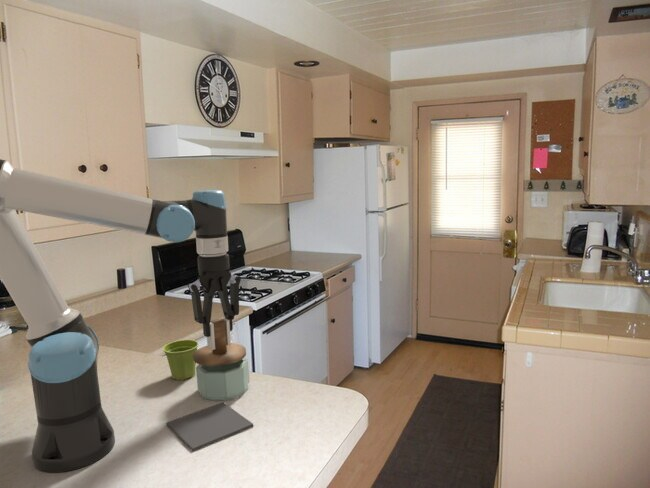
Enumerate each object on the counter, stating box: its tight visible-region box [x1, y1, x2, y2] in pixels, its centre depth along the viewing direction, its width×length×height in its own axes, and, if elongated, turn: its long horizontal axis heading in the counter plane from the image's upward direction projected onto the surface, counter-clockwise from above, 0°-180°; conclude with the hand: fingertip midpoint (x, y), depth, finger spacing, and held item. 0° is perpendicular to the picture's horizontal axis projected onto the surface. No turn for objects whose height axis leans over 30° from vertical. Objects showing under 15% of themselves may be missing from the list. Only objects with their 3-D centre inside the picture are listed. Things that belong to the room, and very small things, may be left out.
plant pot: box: [162, 339, 200, 381], centre depth 139 cm, size 9×9×9 cm
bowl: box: [195, 357, 250, 402], centre depth 129 cm, size 12×12×7 cm
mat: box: [165, 401, 254, 452], centre depth 112 cm, size 14×14×1 cm
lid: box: [193, 318, 247, 366], centre depth 127 cm, size 13×13×9 cm
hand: (219, 345), depth 127 cm, fingers closed on lid, 4 cm apart
